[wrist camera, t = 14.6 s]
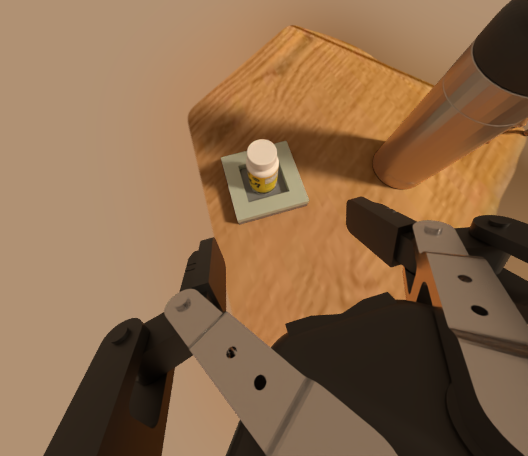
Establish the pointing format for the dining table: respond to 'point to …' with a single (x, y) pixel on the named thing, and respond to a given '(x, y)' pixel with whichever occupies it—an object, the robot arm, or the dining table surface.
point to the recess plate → (259, 206)
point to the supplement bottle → (262, 166)
